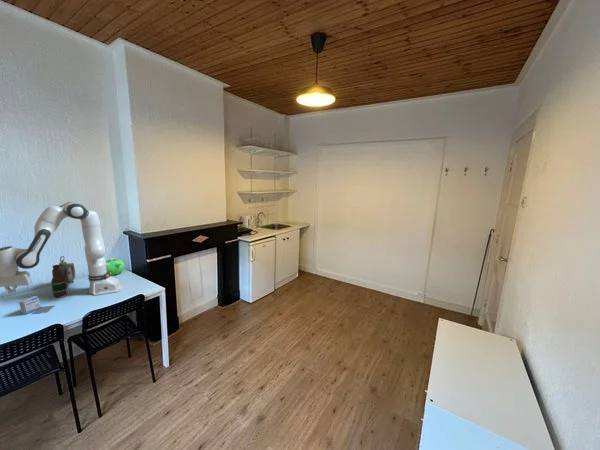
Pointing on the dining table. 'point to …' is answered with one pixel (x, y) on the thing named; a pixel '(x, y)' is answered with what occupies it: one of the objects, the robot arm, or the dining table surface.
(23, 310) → the medicine box
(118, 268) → the toy bird
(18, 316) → the dining table surface
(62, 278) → the beer bottle
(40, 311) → the mat
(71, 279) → the old metal lantern
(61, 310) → the dining table surface
